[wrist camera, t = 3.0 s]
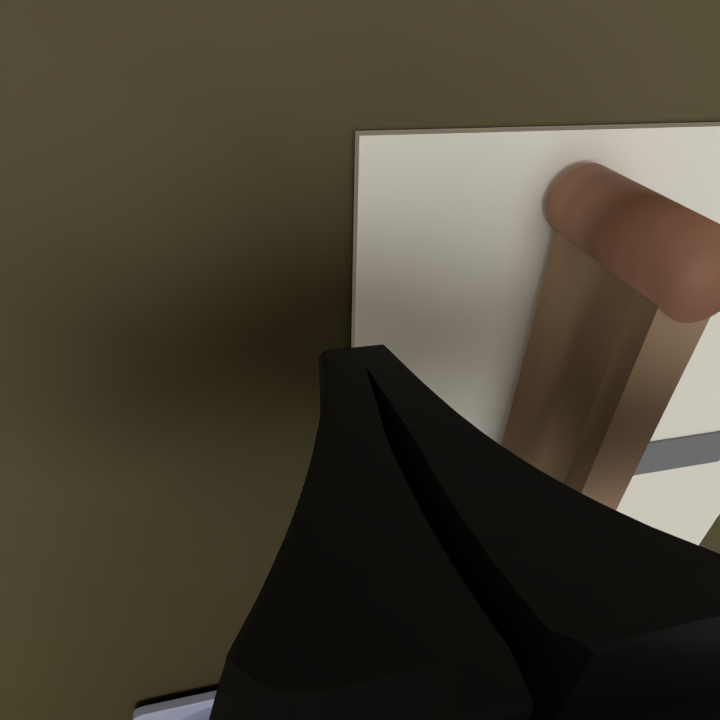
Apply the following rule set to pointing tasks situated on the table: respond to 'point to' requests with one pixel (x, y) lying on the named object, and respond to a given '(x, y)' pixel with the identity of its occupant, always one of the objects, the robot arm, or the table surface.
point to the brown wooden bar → (611, 328)
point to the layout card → (522, 277)
